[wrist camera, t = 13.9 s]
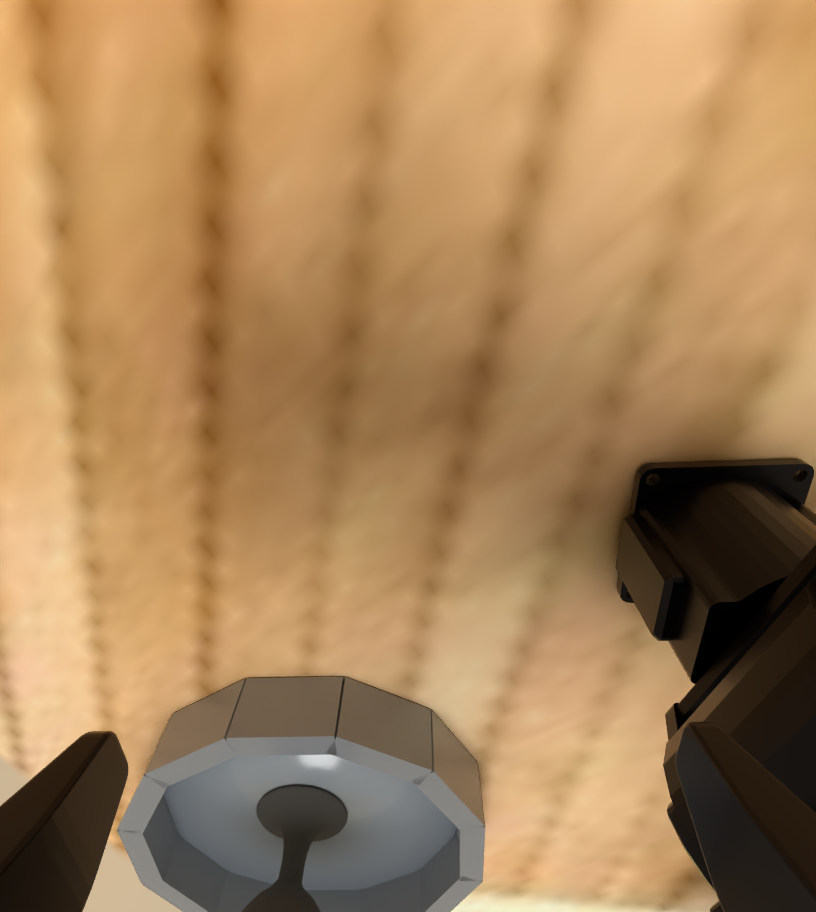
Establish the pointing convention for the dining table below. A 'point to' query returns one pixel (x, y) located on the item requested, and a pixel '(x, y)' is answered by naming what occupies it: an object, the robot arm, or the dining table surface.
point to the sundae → (296, 841)
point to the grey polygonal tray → (314, 764)
